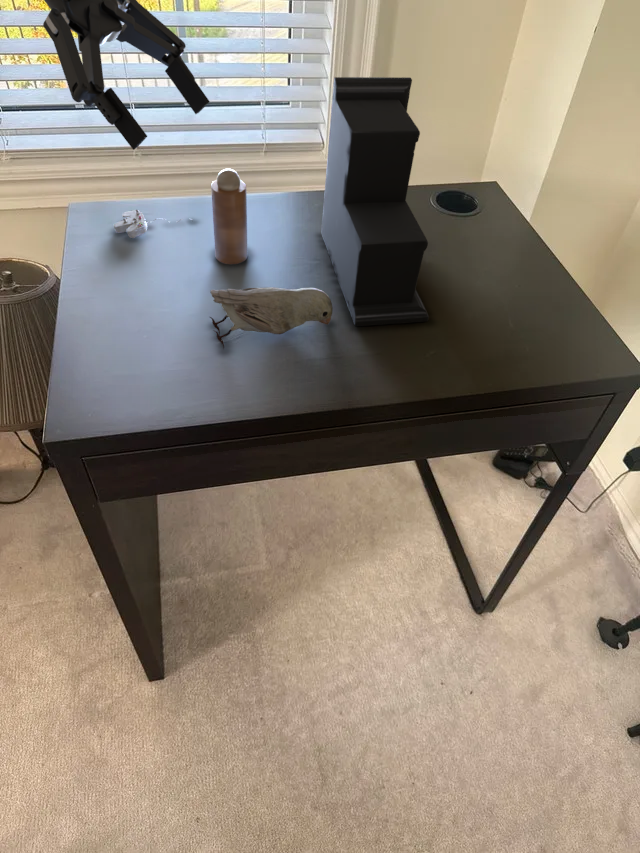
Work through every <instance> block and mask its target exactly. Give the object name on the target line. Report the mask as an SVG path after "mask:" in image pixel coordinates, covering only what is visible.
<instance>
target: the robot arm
mask: <svg viewBox="0 0 640 853" xmlns="http://www.w3.org/2000/svg"><path fill="white" fill-rule="evenodd" d="M43 1H44V2H45V4H46V5H47V6H48V8H49V9H50V11H49V13H48V14H47V15H46V18H45V20H44V21H43V23H42V26H43V28H44V29H45V31H46V34H48V36H49V38H50V39H51V40H52V42H53V45H54V48H55V51H56V54H57V57H58V60H59V63H60V66H61V68H62V72H63V74H64V78H65V81H66V83H67V87H68V89H69V92H70V95H71V98H72V99H73V101H74V102H75V103H81V102H83V103H84V104H85V105H86V106H87V107H93V106H94V105H95V107H96V108H97V109H98V111H99V112H100V113H101V115H102V116H103V117H104V118H105V120H106V121H107V123H109V125H111V126H115V128H116V129H117V131H118V132H119V133H120V135H122V137H123V139H124V140H125V141H126V143H127V144H128V145H129V147H131V149H132V150H136V149H137V148H139V146H140V145H141V144H142V143H143V142H144V141H145V140H146V139H147V138H148V135H147V133H146V132H145V131H144V129H143V128H142V127H141V126H140V124H139V122H138V121H137V120H136V119H135V117H134V116H133V114H131V112H130V110H129V109H128V108H127V106H126V105H125V104H124V102H122V100H121V99H120V97H119V96H118V95H117V94H116V92H115V90H114V89H113V88H112V87H109V88H107V89H106V90H105V82H104V73H103V65H102V55H101V54H102V53H101V46H103V45H104V44H105V43H112V42H114V41H118V42H119V43H127V44H128V45H131V47H134V48H135V49H137V50H138V51H141V52H143V53H144V54H146V56H147V55H148V56H149V57H150V58H152V59H155V60H156V61H158V62H159V63H161V64H163V65H164V66H166V69H165V70H164V72H165V73H166V75H167V76H168V77H169V79H170V81H171V82H172V83H173V85H174V86H175V88H176V90H178V92H179V93H180V94H181V96H182V97H183V99H184V100H185V101H186V103H187V105H188V106H189V107H190V108H191V110H192V111H193V113H194V114H195V115H198V114H199V113H200V112H201V111H202V110H203V109H204V108H205V107H206V106H207V105H208V104H209V103H210V100H209V98H208V97H207V95H206V94H205V93H204V92H203V90H202V88H201V87H200V85H199V84H198V83H197V81H196V78H195V75H194V74H193V73H192V72H191V70H190V69H189V66H188V65H187V64H186V63H185V61H184V60H183V58H182V55H183V54H184V52H185V49H186V45H187V44H186V43H185V42H184V40H182V39H181V38H180V37H179V36H178V35H177V34H176V33H174V32H173V31H172V30H170V28H168V27H167V26H166V25H165V24H164V23H163V22H162V21H160V19H158V18H157V17H156V16H155V15H153V13H151V12H150V11H149V10H148V9H147V8H145V6H143V5H142V4H141V3H140V2H139V1H138V0H43ZM122 23H123V24H122ZM72 32H73V33H76V34H77V42H78V45H77V43H76V40H75V38H74V34H73V33H72ZM79 52H80V53H81V55H80V53H79Z"/></svg>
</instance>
